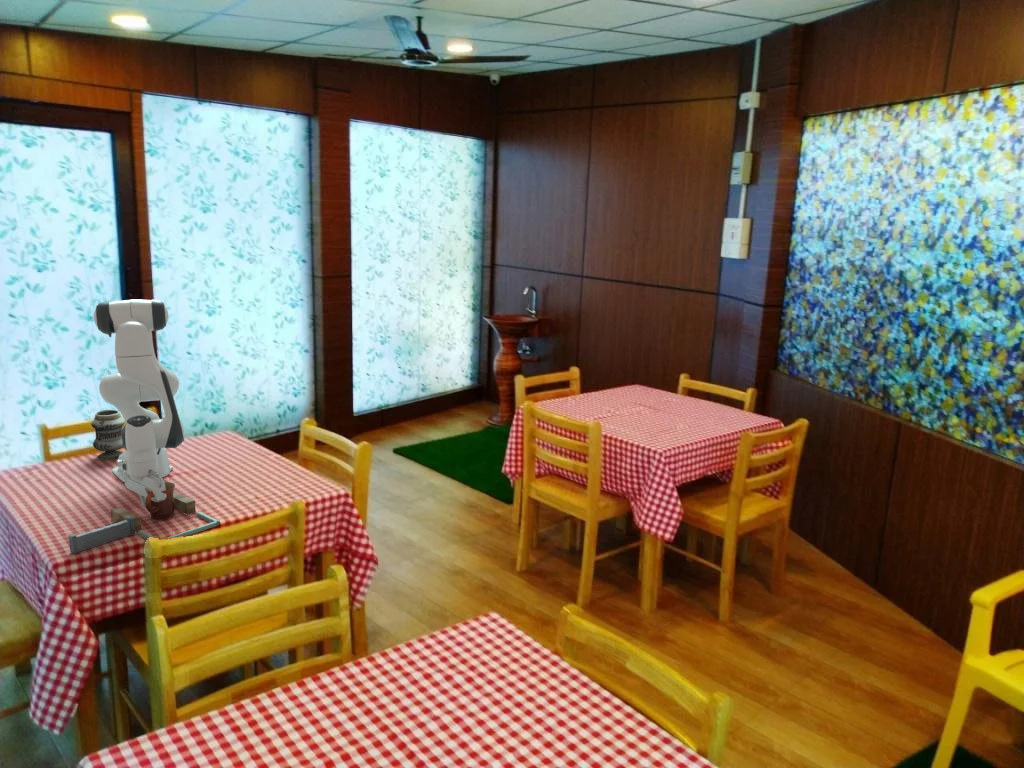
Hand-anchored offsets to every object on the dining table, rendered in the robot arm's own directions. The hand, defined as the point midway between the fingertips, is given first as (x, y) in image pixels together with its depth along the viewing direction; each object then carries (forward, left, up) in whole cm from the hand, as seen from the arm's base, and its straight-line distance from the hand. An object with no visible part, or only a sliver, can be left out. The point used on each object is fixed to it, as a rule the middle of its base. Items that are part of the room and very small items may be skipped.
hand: (147, 507), depth 254 cm
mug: (+7, 0, -2) cm, 7 cm away
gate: (+12, -19, -2) cm, 23 cm away
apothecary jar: (-66, +20, -2) cm, 69 cm away
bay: (+19, 0, -2) cm, 19 cm away
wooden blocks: (+4, 0, -2) cm, 4 cm away
